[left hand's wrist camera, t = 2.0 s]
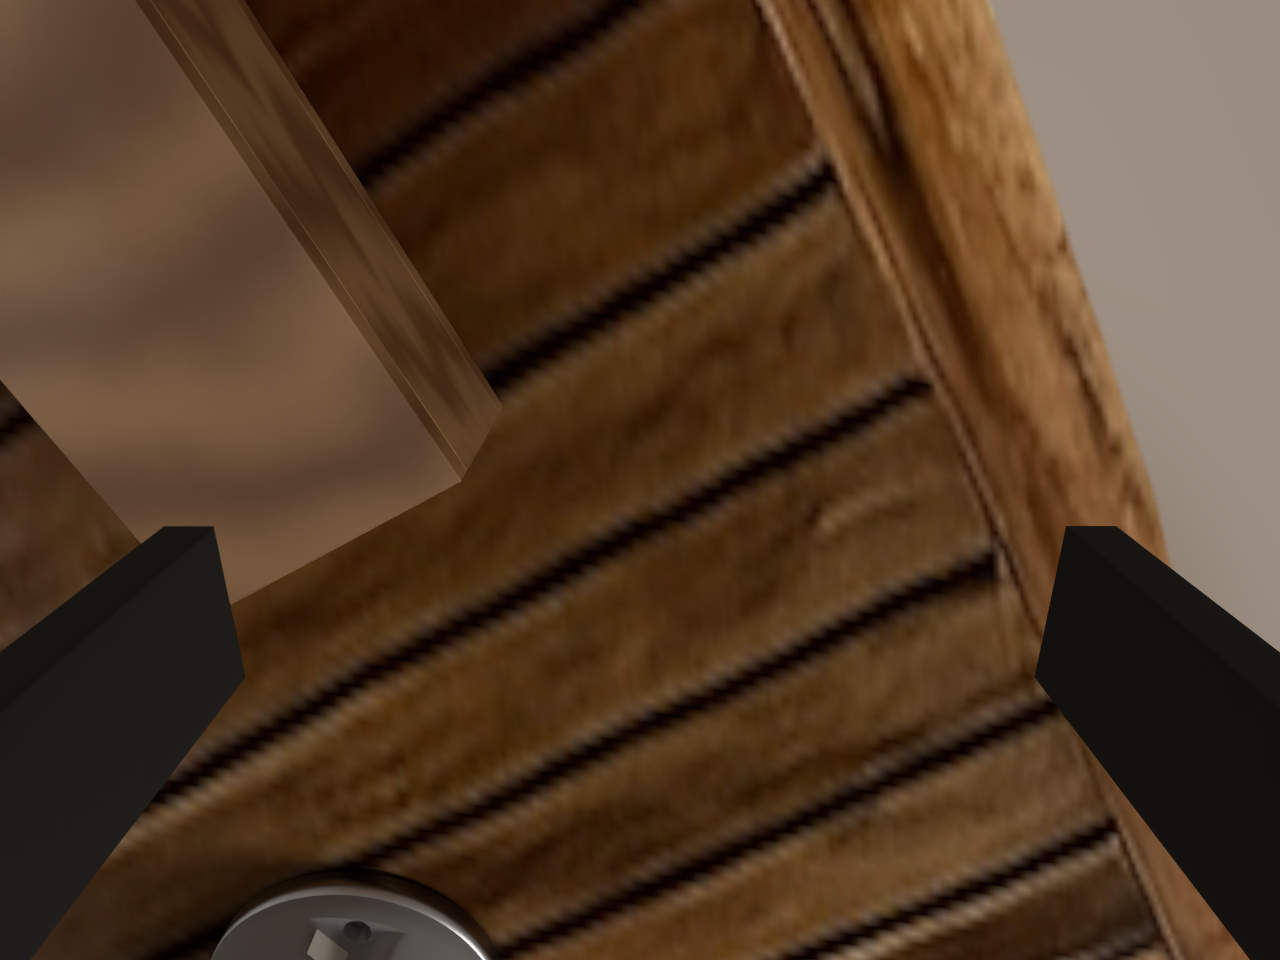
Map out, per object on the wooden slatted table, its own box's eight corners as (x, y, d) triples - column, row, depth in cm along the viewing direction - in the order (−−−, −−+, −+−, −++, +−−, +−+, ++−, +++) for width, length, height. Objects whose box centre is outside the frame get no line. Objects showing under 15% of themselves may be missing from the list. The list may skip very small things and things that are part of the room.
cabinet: (-30, 88, 28) (-272, 64, 21) (196, -78, 26) (19, -170, 19) (300, 517, 34) (204, 619, 27) (503, 406, 32) (461, 481, 25)
